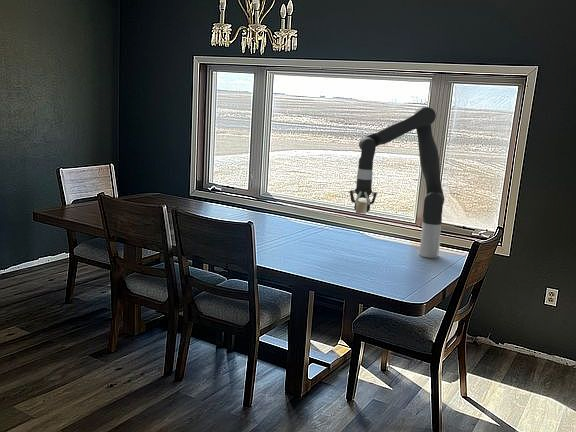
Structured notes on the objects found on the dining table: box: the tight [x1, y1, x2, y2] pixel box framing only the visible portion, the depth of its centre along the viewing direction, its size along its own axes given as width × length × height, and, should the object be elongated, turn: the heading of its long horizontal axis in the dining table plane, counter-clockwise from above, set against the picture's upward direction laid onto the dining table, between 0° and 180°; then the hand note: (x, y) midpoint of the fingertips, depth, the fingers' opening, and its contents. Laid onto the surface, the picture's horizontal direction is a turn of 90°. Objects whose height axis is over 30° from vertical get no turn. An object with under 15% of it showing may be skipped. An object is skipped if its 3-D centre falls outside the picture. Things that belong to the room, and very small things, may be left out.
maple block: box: [355, 198, 368, 215], centre depth 296 cm, size 5×5×12 cm
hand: (361, 211), depth 296 cm, fingers closed on maple block, 5 cm apart
